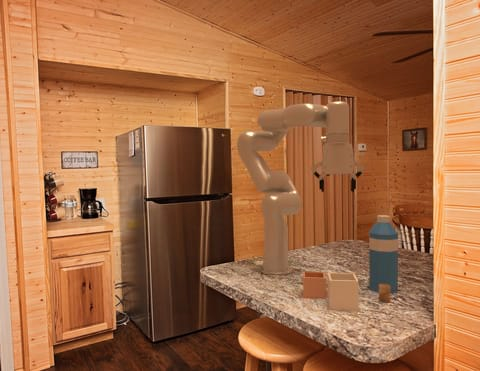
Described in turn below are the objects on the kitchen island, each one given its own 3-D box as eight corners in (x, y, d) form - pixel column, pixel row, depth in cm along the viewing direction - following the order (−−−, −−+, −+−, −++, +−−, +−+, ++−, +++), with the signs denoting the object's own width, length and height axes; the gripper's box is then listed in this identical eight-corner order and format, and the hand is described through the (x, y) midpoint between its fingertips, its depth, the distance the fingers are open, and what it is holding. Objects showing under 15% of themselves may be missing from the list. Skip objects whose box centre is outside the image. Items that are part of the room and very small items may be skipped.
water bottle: (374, 283, 130) (374, 213, 129) (401, 289, 124) (402, 215, 123) (364, 290, 123) (364, 216, 122) (393, 296, 117) (393, 218, 116)
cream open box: (329, 311, 106) (329, 280, 105) (327, 301, 114) (327, 272, 113) (358, 312, 104) (358, 281, 104) (354, 302, 112) (354, 273, 112)
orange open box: (303, 299, 115) (303, 277, 115) (303, 292, 122) (303, 271, 122) (326, 300, 114) (325, 278, 114) (324, 293, 121) (324, 272, 121)
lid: (371, 308, 108) (371, 289, 108) (366, 298, 117) (366, 280, 117) (404, 310, 107) (404, 290, 106) (396, 299, 115) (396, 281, 115)
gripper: (310, 139, 119) (311, 192, 120) (366, 138, 116) (366, 192, 117) (310, 141, 127) (310, 191, 127) (362, 140, 124) (362, 190, 125)
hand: (337, 191), depth 122 cm, fingers open, 9 cm apart
